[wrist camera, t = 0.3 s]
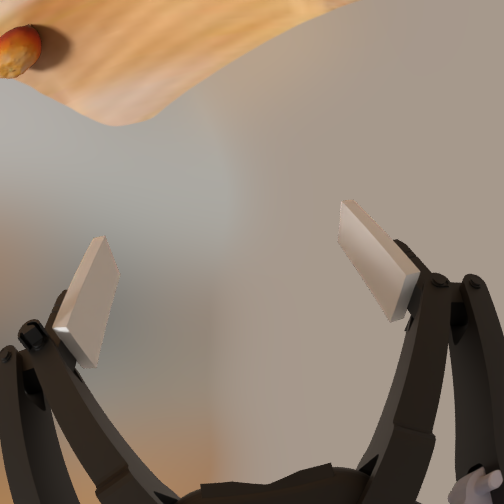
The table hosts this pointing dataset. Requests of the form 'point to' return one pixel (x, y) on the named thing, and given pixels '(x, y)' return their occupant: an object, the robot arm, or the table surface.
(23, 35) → the fruit
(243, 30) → the table surface
